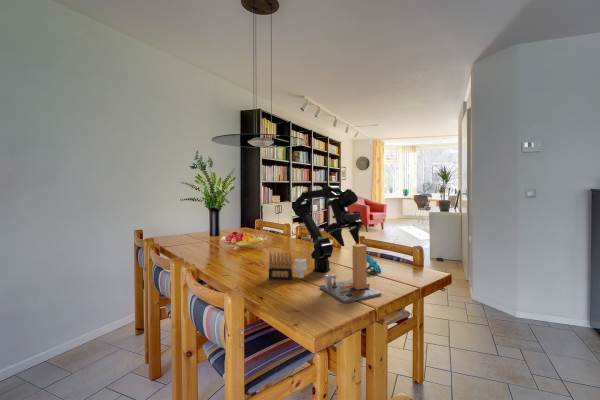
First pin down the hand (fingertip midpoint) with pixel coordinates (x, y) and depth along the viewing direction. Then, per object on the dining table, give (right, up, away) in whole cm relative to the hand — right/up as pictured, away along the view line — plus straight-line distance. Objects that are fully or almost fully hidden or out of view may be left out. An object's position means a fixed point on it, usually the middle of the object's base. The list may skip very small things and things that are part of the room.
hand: (350, 244), depth 126 cm
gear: (+13, -15, +13) cm, 24 cm away
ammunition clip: (-31, -16, +3) cm, 35 cm away
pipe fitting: (-22, -16, +6) cm, 28 cm away
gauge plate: (-3, -16, -13) cm, 21 cm away
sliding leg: (-1, -15, -13) cm, 20 cm away
